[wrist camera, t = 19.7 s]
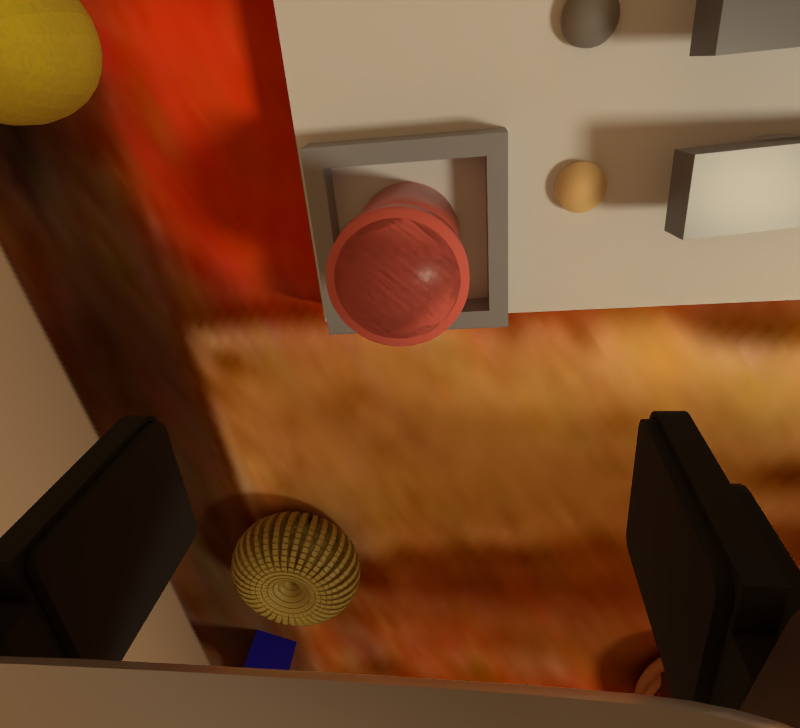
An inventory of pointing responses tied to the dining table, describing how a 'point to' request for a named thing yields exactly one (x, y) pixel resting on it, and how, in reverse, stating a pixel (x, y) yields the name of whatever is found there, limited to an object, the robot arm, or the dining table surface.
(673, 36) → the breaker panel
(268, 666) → the blue pipe cradle
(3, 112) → the lemon
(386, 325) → the cap
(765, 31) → the plain rocker
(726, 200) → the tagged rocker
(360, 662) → the dining table surface
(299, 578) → the sculpture
